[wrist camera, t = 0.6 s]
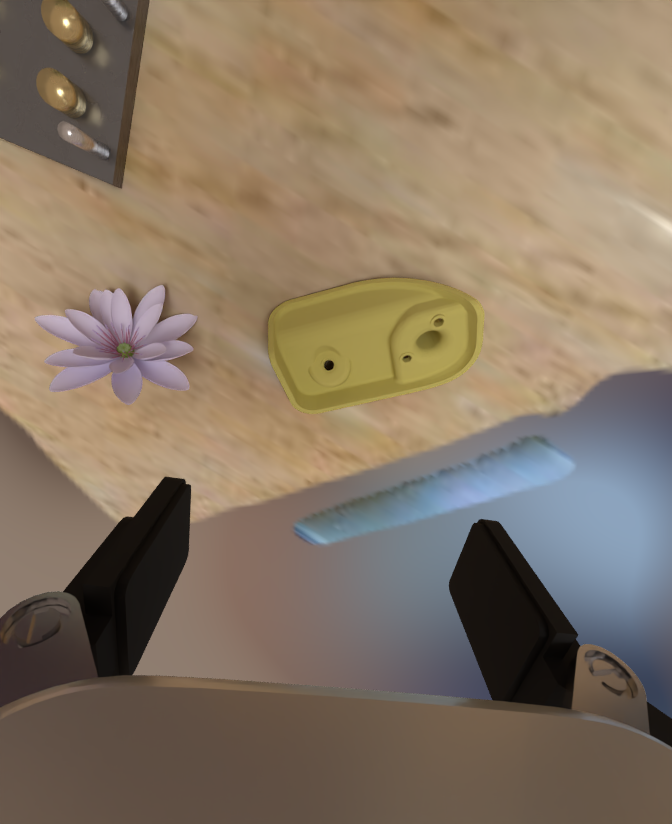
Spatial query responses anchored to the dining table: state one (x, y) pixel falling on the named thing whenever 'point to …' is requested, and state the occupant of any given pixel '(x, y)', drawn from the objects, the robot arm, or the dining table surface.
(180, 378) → the water lily
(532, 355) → the dining table surface
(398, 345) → the plastic component
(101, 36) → the chassis
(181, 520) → the robot arm
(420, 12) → the dining table surface
